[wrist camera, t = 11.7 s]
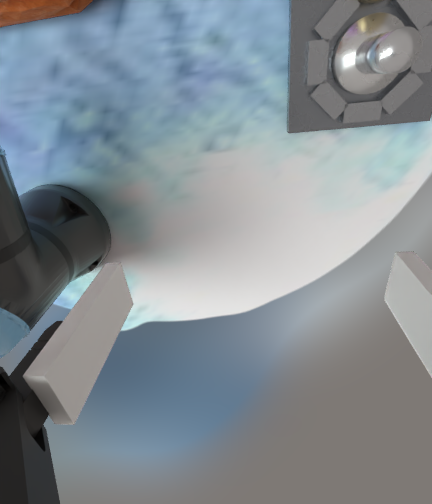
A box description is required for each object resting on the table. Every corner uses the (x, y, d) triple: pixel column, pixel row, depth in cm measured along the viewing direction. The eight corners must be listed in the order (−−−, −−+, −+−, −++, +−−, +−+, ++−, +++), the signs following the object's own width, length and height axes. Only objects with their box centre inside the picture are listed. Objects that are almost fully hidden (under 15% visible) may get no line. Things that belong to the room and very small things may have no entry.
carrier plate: (286, 131, 37) (289, 135, 35) (292, -132, 26) (296, -151, 24) (423, 118, 35) (435, 121, 33) (491, -172, 24) (517, -198, 22)
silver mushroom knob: (330, 98, 34) (352, 104, 27) (333, 22, 30) (359, 5, 23) (396, 88, 33) (437, 91, 25) (407, 8, 29) (459, -15, 22)
